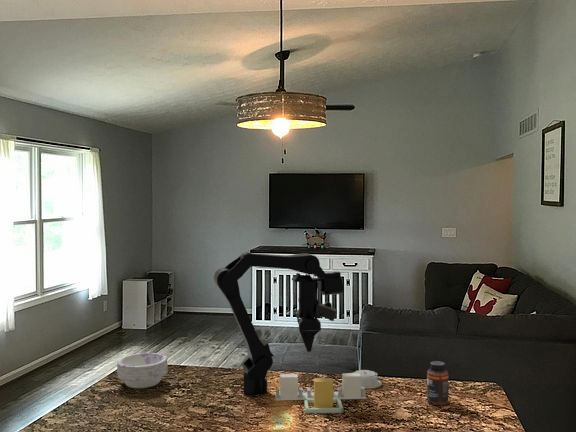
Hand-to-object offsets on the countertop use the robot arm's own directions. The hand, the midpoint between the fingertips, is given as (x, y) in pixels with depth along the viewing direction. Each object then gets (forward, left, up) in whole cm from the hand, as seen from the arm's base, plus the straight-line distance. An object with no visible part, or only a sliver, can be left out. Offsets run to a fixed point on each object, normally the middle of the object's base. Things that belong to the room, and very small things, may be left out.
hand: (308, 347), depth 177 cm
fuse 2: (+12, -8, -12) cm, 19 cm away
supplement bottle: (+36, -12, -13) cm, 40 cm away
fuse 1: (-6, -8, -12) cm, 16 cm away
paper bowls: (-51, +8, -13) cm, 53 cm away
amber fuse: (+3, -17, -12) cm, 21 cm away
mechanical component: (+18, +3, -14) cm, 22 cm away
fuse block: (+3, -8, -13) cm, 15 cm away
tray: (+3, -17, -13) cm, 21 cm away
